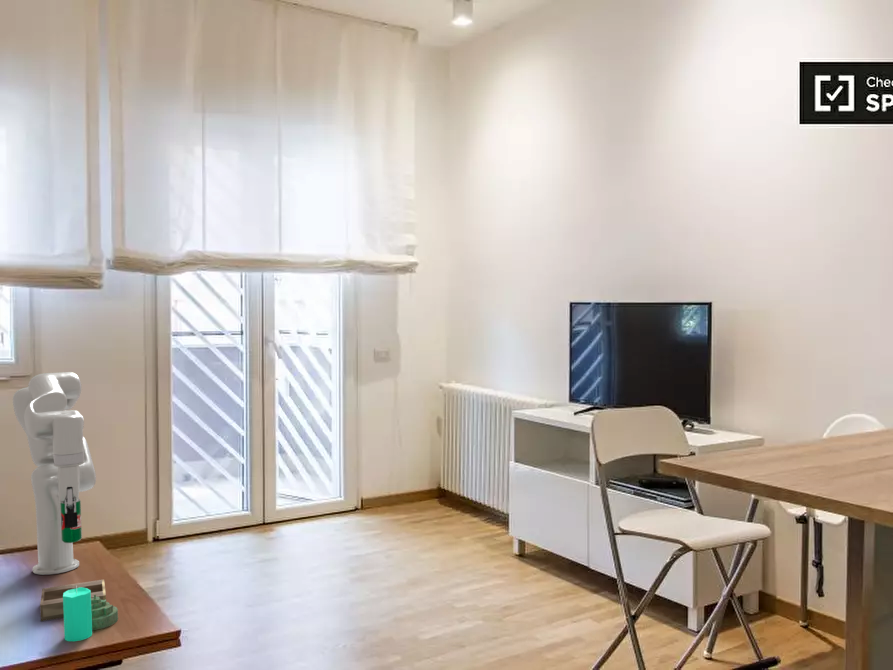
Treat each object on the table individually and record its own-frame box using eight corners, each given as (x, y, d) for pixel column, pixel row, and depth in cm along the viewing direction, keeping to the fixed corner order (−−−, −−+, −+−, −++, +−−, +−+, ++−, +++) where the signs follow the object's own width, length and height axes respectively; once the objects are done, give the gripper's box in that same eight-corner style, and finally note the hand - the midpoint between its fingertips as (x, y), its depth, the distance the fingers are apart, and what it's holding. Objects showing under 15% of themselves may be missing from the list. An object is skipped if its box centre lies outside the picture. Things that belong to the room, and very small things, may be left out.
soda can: (74, 544, 220) (72, 500, 220) (57, 543, 221) (56, 499, 221) (85, 538, 225) (84, 495, 225) (69, 537, 226) (68, 495, 226)
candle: (70, 632, 193) (68, 582, 192) (96, 630, 193) (94, 580, 193) (60, 642, 187) (58, 590, 186) (87, 640, 187) (85, 589, 187)
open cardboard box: (42, 603, 213) (42, 588, 213) (104, 594, 219) (104, 579, 219) (40, 621, 200) (40, 605, 200) (106, 610, 206) (105, 595, 206)
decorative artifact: (69, 622, 200) (78, 634, 192) (68, 594, 199) (77, 605, 191) (112, 612, 205) (122, 624, 197) (111, 585, 205) (121, 595, 197)
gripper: (54, 455, 228) (56, 518, 229) (52, 466, 213) (55, 534, 214) (83, 452, 232) (85, 515, 232) (84, 463, 216) (86, 530, 217)
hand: (71, 524), depth 223 cm, fingers closed on soda can, 5 cm apart
